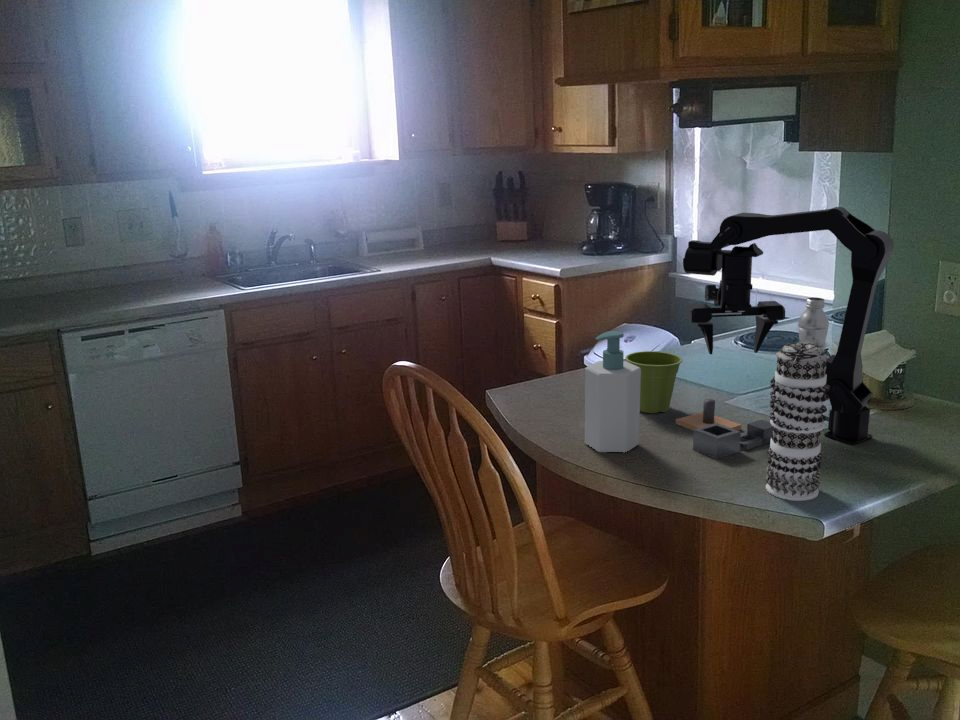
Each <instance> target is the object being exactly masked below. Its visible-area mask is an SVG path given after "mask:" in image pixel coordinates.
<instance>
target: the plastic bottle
mask: <svg viewBox="0 0 960 720" xmlns="http://www.w3.org/2000/svg"><path fill="white" fill-rule="evenodd" d="M805 307H806V310H804V312H803V313H802V314H801V315H800V316H799V318H798V320H797V325H798V337H799V338H798V339H799V341H798V342H802V343H810V344H815V345H817V346H819V347H820V348H821V349H822V350H823V352H824V353H825V348H826V347H825V346H826V339H827V336H828V332H829V331H828V330H829V326H830V321H829V318H828V315H827V314H826V312H825V311H824V308H825V298H822V297H817V296H816V297H808V298H806V302H805Z"/></svg>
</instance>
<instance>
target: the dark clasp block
mask: <svg viewBox="0 0 960 720" xmlns="http://www.w3.org/2000/svg"><path fill="white" fill-rule="evenodd" d="M746 425H747V426H746V432H744V433H741V437H740V451H743V452H744V451H746V450H749V449H753V448H757V447H759V446H762V445H766V444H768V443H770V440H771V438H772V429H773V426H772V425H771V423H770V421H766V420H765V419H760V420H756V421H753V422H749V423H747V424H746Z"/></svg>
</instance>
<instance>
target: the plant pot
mask: <svg viewBox="0 0 960 720" xmlns="http://www.w3.org/2000/svg"><path fill="white" fill-rule="evenodd" d="M625 361H626V362H629V363H631V364H633V365H635V366H637V367H640V369H641V384H640V413H641V412H642V413H646V414H647V413H648V414H658V413H659V412H662V413H665V412H667V411H668V410H669V409H670V405H671V400H672V396H673V390H674V387H675V382H676V378H677V374H678V373H679V369H680V364H681V363H683V357H681V356H680V355H677V354H674V353H670V352H666V351H665V352H664V351H657V350H652V351H651V350H645V351H637V352H631V353H629V354H627V355H626V356H625Z"/></svg>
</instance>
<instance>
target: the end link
mask: <svg viewBox="0 0 960 720" xmlns="http://www.w3.org/2000/svg"><path fill="white" fill-rule="evenodd" d="M741 434H742V433H741V430H738V431H737V430H735V429H732V428H729V427H726V426H724V425H721V424H718V423H714V424H711V425H707V426H704V427H700V428H697V429H694V431H693V436H692V437H693V438H692V439H693V441H692V450H693V449H695V450H694V451H696V450H698V451H700V452H699V453H701V452H703V453H705V454H704V455H706V454H707V455H706V456H708V455H710V456H709V457H711V456H713V457H715V458H714V459H716V458H719V459H722V458H725V457H728V456H731V455H734V453H735V454H737V453H740V451H741V450H740V437H741ZM698 451H697V452H698ZM703 453H702V454H703ZM730 454H731V455H730ZM727 455H728V456H727ZM724 456H725V457H724ZM713 457H712V458H713ZM721 457H722V458H721Z"/></svg>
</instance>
